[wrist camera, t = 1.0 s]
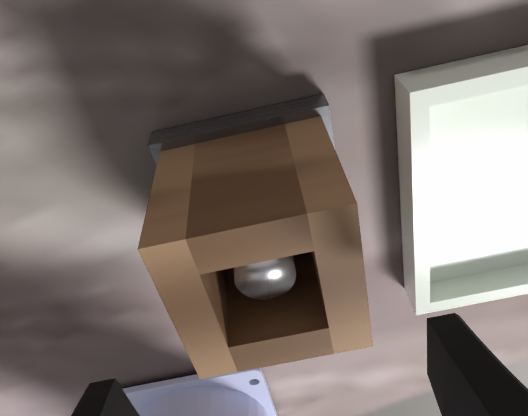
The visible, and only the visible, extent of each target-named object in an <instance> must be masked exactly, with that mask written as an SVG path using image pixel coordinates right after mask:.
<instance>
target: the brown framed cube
mask: <svg viewBox="0 0 528 416" xmlns="http://www.w3.org/2000/svg"><path fill="white" fill-rule="evenodd" d="M138 251H139V253H140V255H141V257H142V259H143V261H144V263H145V266H146V268H147V270H148V272H149V274H150V276H151V278H152V280H153V282H154V284H155V286H156V289H157V291H158V293H159V295H160V297H161V299H162V301H163V303H164V305H165V307H166V309H167V312H168V314H169V316H170V318H171V320H172V322H173V324H174V326H175V328H176V330H177V332H178V335H179V337H180V339H181V341H182V343H183V345H184V347H185V349H186V351H187V353H188V355H189V358H190V360H191V362H192V364H193V366H194V368H195V370H196V372H197V374H198V376H199V378H200V379H204V378H209V377H215V376H220V375H225V374H230V373H236V372H241V371H246V370H251V369H256V368H262V367H267V366H272V365H277V364H283V363H288V362H293V361H298V360H303V359H309V358H314V357H319V356H324V355H330V354H335V353H340V352H345V351H350V350H356V349H361V348H366V347H371V346H373V341H372V332H371V323H370V314H369V306H368V297H367V288H366V279H365V270H364V261H363V252H362V244H361V235H360V226H359V217H358V208H357V202H356V200H355V197H354V195H353V192H352V190H351V188H350V185H349V183H348V180H347V178H346V175H345V173H344V171H343V168H342V166H341V163H340V161H339V158H338V156H337V154H336V151H335V149H334V146H333V144H332V141H331V139H330V137H329V134H328V132H327V129H326V127H325V124H324V122H323V120H322V117H321V116H318V117H314V118H309V119H305V120H300V121H296V122H291V123H287V124H282V125H278V126H273V127H269V128H264V129H260V130H255V131H251V132H246V133H242V134H237V135H233V136H228V137H224V138H219V139H215V140H210V141H206V142H201V143H197V144H192V145H188V146H183V147H179V148H174V149H170V150H165V151H161V152H160V153H159V158H158V162H157V167H156V171H155V175H154V180H153V184H152V189H151V193H150V197H149V202H148V206H147V211H146V215H145V219H144V224H143V228H142V233H141V237H140V241H139V246H138ZM288 256H293V259H294V265H295V270H296V280H295V283H294V284H293V286H292V287H291V289H290V290H289V291H287V292H286V293H285V294H283V295H281V296H279V297H276V298H272V299H265V300H261V299H254V298H251V297H248V296H246V295H244V294H243V293H241V292H240V291H239V290H238V288H237V287H236V285H235V281H234V267H239V266H244V265H249V264H254V263H258V262H263V261H268V260H273V259H278V258H283V257H288Z"/></svg>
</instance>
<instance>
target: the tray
mask: <svg viewBox="0 0 528 416" xmlns="http://www.w3.org/2000/svg"><path fill="white" fill-rule="evenodd" d="M394 79H395V100H396V121H397V142H398V164H399V185H400V206H401V227H402V249H403V270H404V289H405V291H406V293H407V296H408V298H409V300H410V303H411V305H412V307H413V309H414V312H415V314H416V315H420V314H425V313H430V312H436V311H441V310H446V309H451V308H456V307H461V306H466V305H472V304H477V303H482V302H487V301H492V300H497V299H503V298H508V297H513V296H518V295H523V294H528V45H525V46H520V47H516V48H511V49H507V50H502V51H498V52H493V53H489V54H485V55H480V56H476V57H471V58H467V59H462V60H458V61H453V62H449V63H445V64H440V65H436V66H431V67H427V68H422V69H418V70H413V71H409V72H405V73H400V74H396V75H394Z"/></svg>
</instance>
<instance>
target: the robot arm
mask: <svg viewBox="0 0 528 416" xmlns="http://www.w3.org/2000/svg"><path fill="white" fill-rule="evenodd" d="M427 374H428V377H429V380H430V383H431V386H432V389H433V391H434V394H435V397H436V400H437V403H438V406H439V409H440V411H441V414H442V416H528V389H527V388H526V387H525V386H524V385H523V384H522V383H521V382H520V381H519V380H518V379H517V378H516V377H515V376H514V375H513V374H512V373H511V372H510V371H509V370H508V369H507V368H506V367H505V366H504V365H503V364H502V363H501V362H500V361H499V359H498V358H497V357H496V356H495V355H494V354H493V353H492V352H491V351H490V350H489V349H488V348H487V347H486V346H485V345H484V343H483V342H482V341H481V340H480V339H479V338H478V337H477V336H476V335H475V333H474V332H473V331H472V330H471V329H470V328H469V327H468V325H467V324H466V323H465V322H464V321H463V319H462V318H461V317H460V316H459V315H457V314H455V313H452V314H447V315H442V316H437V317H431V318H427ZM71 416H278V415H277V412H276V409H275V406H274V403H273V400H272V398H271V395H270V392H269V389H268V386H267V383H266V380H265V377H264V374H263V371H262V368H256V369H251V370H246V371H241V372H236V373H230V374H225V375H220V376H215V377H209V378H204V379H200V378H199V376H198V374H195V375H190V376H185V377H180V378H175V379H169V380H164V381H159V382H154V383H148V384H143V385H138V386H133V387H128V388H121V386H120V385H119V383H118V382H117V380H116V379H115V378H114V379H109V380H104V381H99V382H94V383H90V384H89V386H88V387H87V389H86V390H85V392H84V394H83V396H82V397H81V399H80V401H79V403H78V404H77V406H76V408H75V410H74V412H73V413H72V415H71Z"/></svg>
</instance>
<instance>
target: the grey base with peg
mask: <svg viewBox="0 0 528 416" xmlns="http://www.w3.org/2000/svg"><path fill="white" fill-rule="evenodd" d="M318 116H321V117H322V120H323V122H324V124H325V127H326V129H327V132H328V134H329V137H330V139H331V141H332V144H333V146H334V138H333V131H332V124H331V116H330V109H329V104H328V102H327V100H326V98H325V96H324V94H320V95H315V96H311V97H306V98H302V99H297V100H293V101H288V102H284V103H279V104H275V105H271V106H266V107H262V108H257V109H253V110H248V111H244V112H239V113H235V114H231V115H226V116H222V117H217V118H213V119H208V120H204V121H199V122H195V123H190V124H186V125H182V126H177V127H173V128H168V129H164V130H159V131H155V132H152V133H151V137H150V140H149V144H148V147H149V150H150V152H151V155H152V157H153V160H154V162H155V165H156V167H157V162H158V158H159V153H160V152H161V151H165V150H170V149H174V148H179V147H183V146H188V145H192V144H197V143H201V142H206V141H210V140H215V139H219V138H224V137H228V136H233V135H237V134H242V133H246V132H251V131H255V130H260V129H264V128H269V127H273V126H278V125H282V124H287V123H291V122H296V121H300V120H305V119H309V118H314V117H318ZM334 149H335V146H334ZM295 280H296V270H295V265H294V259H293V256H288V257H283V258H278V259H273V260H268V261H263V262H258V263H254V264H249V265H244V266H239V267H234V281H235V285H236V287H237V288H238V290H239V291H240V292H241V293H243V294H244V295H246V296H248V297H251V298H254V299H261V300H265V299H272V298H276V297H279V296H281V295H283V294H285V293H286V292H287V291H289V290H290V289H291V287H292V286H293V284H294V283H295Z"/></svg>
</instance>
